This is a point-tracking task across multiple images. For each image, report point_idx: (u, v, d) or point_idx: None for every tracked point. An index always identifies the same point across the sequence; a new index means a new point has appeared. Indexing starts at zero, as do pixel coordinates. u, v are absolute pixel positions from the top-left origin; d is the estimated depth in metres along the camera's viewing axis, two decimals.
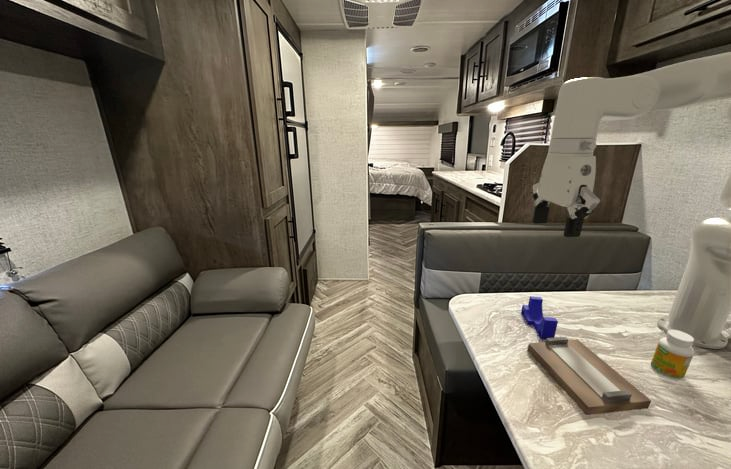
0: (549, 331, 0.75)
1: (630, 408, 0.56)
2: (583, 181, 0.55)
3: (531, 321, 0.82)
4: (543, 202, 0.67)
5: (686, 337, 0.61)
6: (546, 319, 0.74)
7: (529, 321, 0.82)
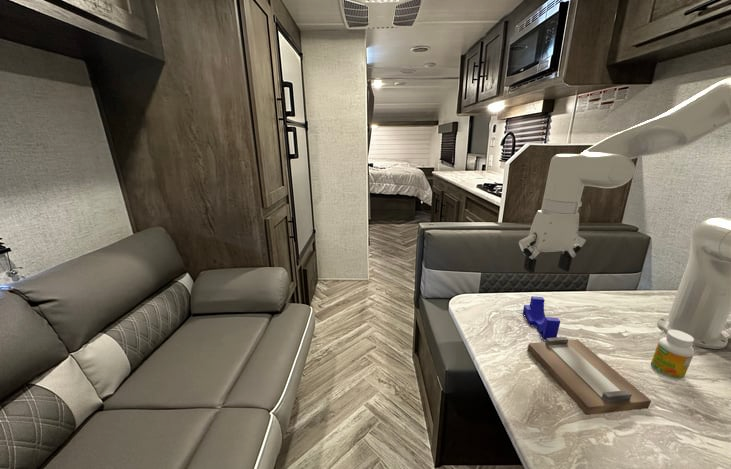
0: (551, 331, 0.75)
1: (630, 408, 0.56)
2: None
3: (533, 321, 0.81)
4: None
5: (686, 337, 0.61)
6: (548, 319, 0.74)
7: (531, 321, 0.82)
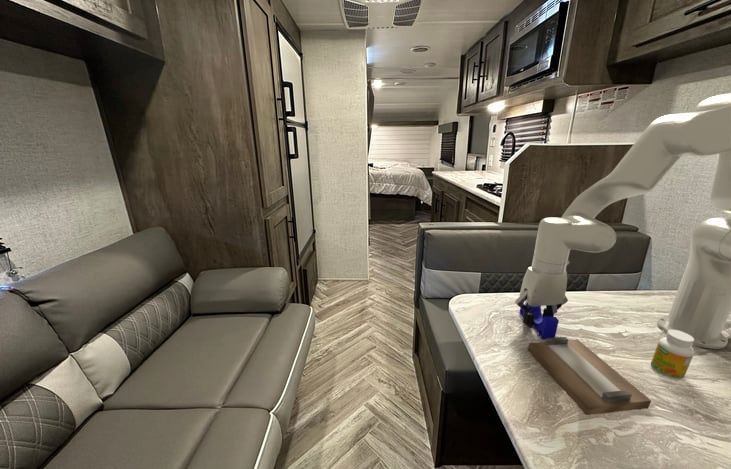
0: (550, 330, 0.75)
1: (630, 408, 0.56)
2: None
3: None
4: None
5: (686, 337, 0.61)
6: (547, 319, 0.74)
7: None
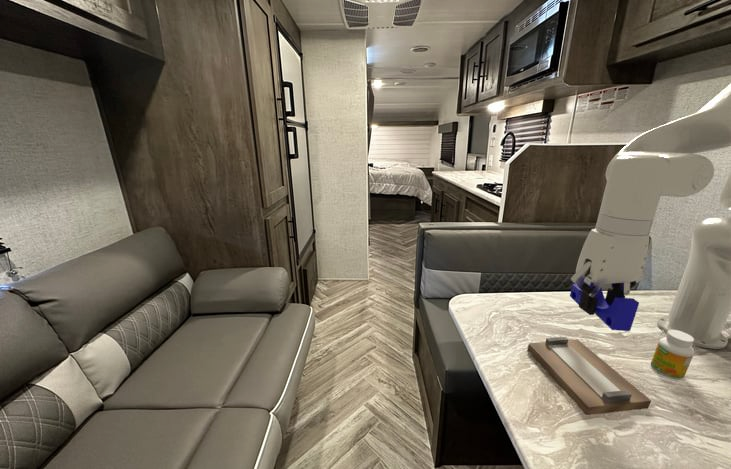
0: (625, 317, 0.53)
1: (630, 408, 0.56)
2: None
3: None
4: None
5: (686, 337, 0.61)
6: (622, 301, 0.52)
7: None
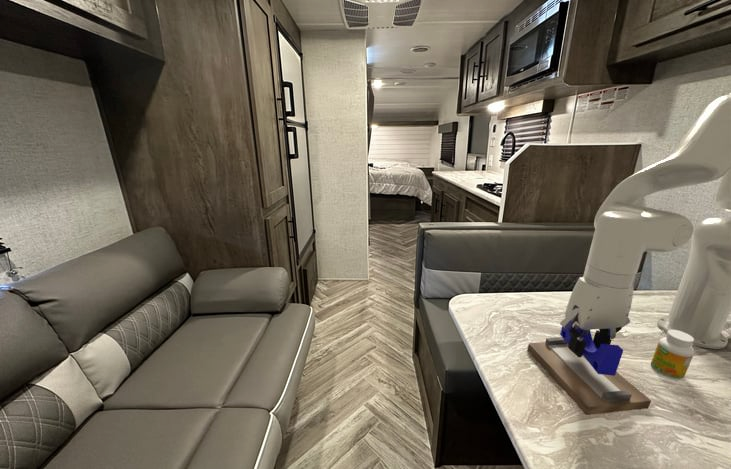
0: (610, 363, 0.56)
1: (630, 408, 0.56)
2: None
3: None
4: None
5: (686, 337, 0.61)
6: (607, 348, 0.55)
7: None
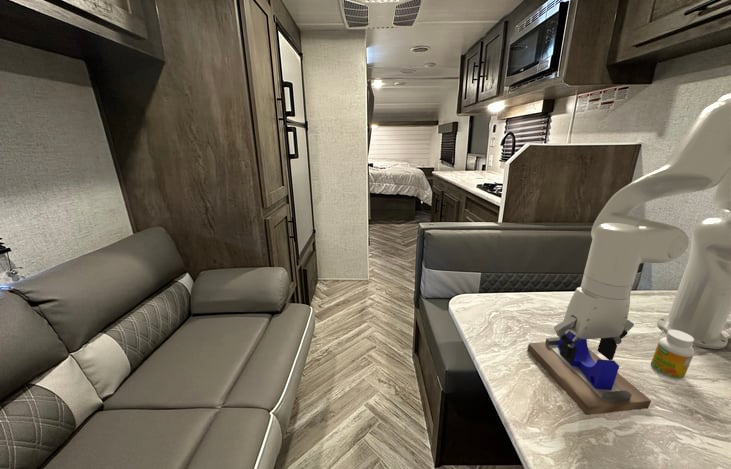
0: (607, 378, 0.57)
1: (630, 408, 0.56)
2: None
3: (576, 361, 0.64)
4: None
5: (686, 337, 0.61)
6: (604, 363, 0.57)
7: None
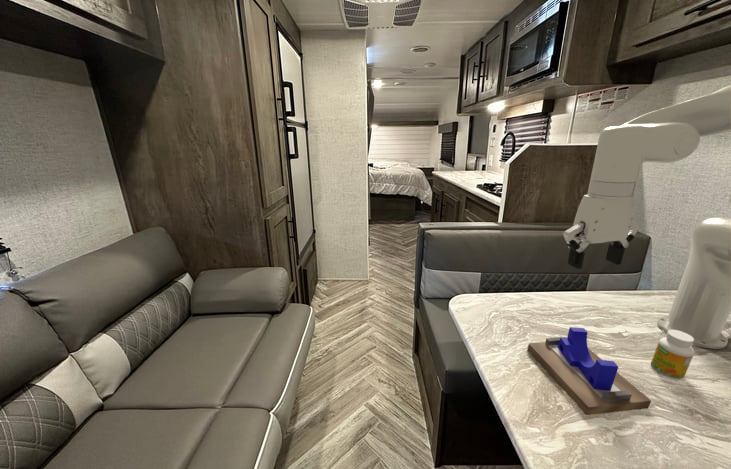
0: (606, 379, 0.57)
1: (630, 408, 0.56)
2: None
3: (575, 361, 0.64)
4: None
5: (686, 337, 0.61)
6: (602, 364, 0.56)
7: (573, 361, 0.64)
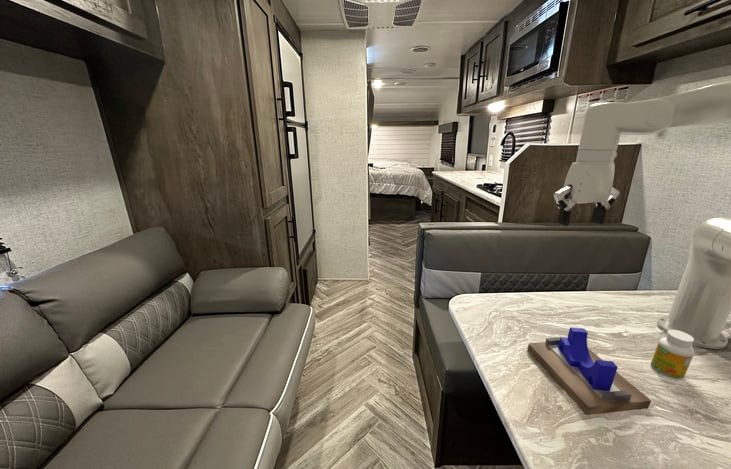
0: (605, 379, 0.57)
1: (630, 408, 0.56)
2: None
3: (575, 361, 0.64)
4: None
5: (686, 337, 0.61)
6: (602, 364, 0.56)
7: (573, 361, 0.64)
